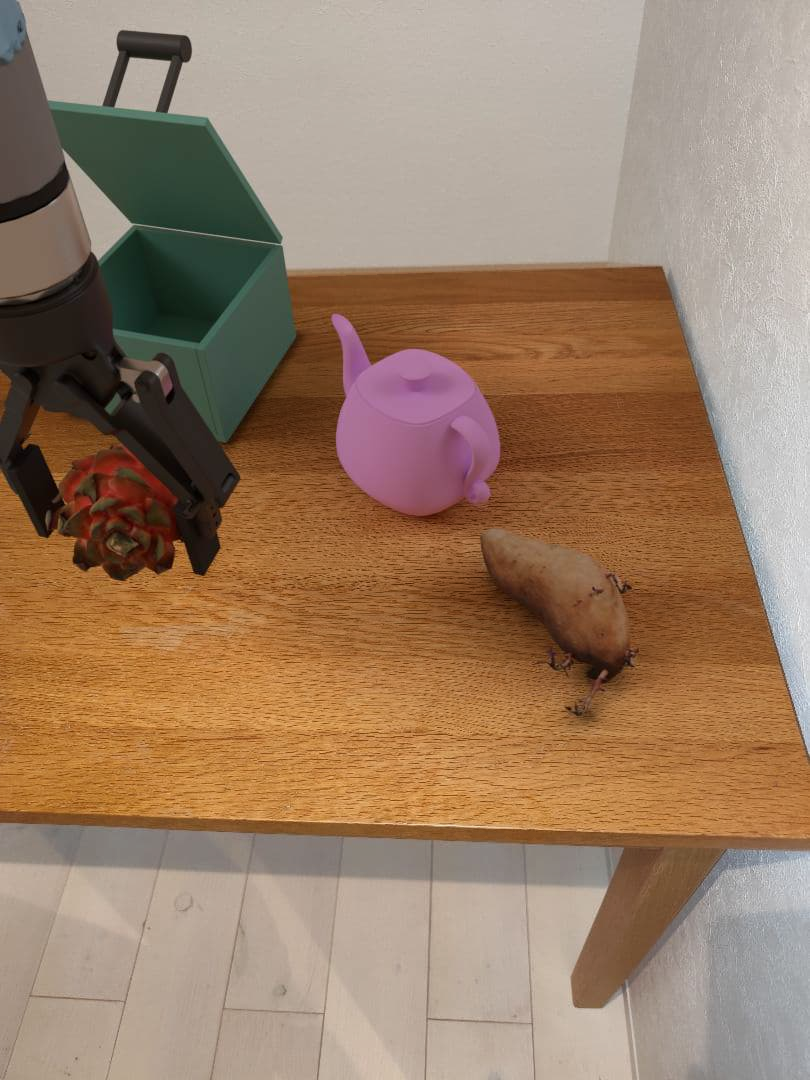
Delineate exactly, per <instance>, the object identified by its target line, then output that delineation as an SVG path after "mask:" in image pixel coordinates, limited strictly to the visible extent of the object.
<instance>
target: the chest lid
mask: <svg viewBox="0 0 810 1080" xmlns="http://www.w3.org/2000/svg"><path fill="white" fill-rule="evenodd" d="M192 45H193V44H192V42H191V39H190V37H189V36H188V35H186V34H185V35H184V34H175V33H163V32H152V31H151V32H150V31H140V30H139V31H138V30H128V29H127V30H126V29H121V30H119V31H118V32H117V35H116V48H117V51H118V55H117V58H116V61H115V64H114V67H113V70H112V74H111V77H110V80H109V83H108V86H107V90H106V92H105V96H104V99H103V102H102V105H94V104H88V103H87V104H85V103H75V102H68V101H67V102H66V101H59V100H48V99H47V100H48V103H49V107H50V110H51V113H52V117H53V120H54V123H55V127H56V130H57V133H58V137H59V140H60V143H61V147H62V150H63V152H65V153H66V154H67V155H68V156H69V158H71V160H72V161H73V162H74V163H75V164H76V166H78V167H79V169H81V171H82V172H83V173H84V174H85V175H86V176H87V177H88V178H89V179H90V180H91V181H92V182H93V184H95V186H96V187H97V188H98V189H99V190H100V191H101V192H102V193H103V194H104V196H105V197H106V198H107V199H108V200H109V201H110V202H111V203H112V204H113V205H114V206H115V207H116V208H117V209H118V211H119V212H120V214H122V215H123V216H124V217H125V218H126V219H127V220H128V221H129V222H130V224H132V225H140V226H148V227H155V228H162V229H169V230H177V231H184V232H191V233H198V234H205V235H212V236H219V237H227V238H234V239H241V240H248V241H255V242H262V243H269V244H275V245H281V244H282V243H283V238H284V236H283V235H282V233H281V232H280V231H279V229H278V227H277V225H276V224H275V223H274V221H273V219H272V218H271V216H270V215H269V213H268V211H267V209H266V208H265V207H264V205H263V203H262V202H261V200H260V199H259V197H258V195H257V193H256V192H255V190H254V189H253V188H252V186H251V184H250V182H249V181H248V179H247V177H246V176H245V174H244V173H243V172H242V170H241V168H240V167H239V165H238V164H237V162H236V160H235V159H234V157H233V156H232V154H231V153H230V151H229V149H228V148H227V146H226V145H225V143H224V141H223V140H222V138H221V136H220V135H219V134H218V132H217V130H216V128H215V127H214V125H213V124H212V122H211V121H210V119H209V117H206V116H198V115H188V114H180V113H169V110H170V107H171V103H172V100H173V96H174V94H175V90H176V86H177V83H178V80H179V77H180V73H181V70H182V68H183V64H184V63H186V64H187V63H189V62H190V61H191V59H192V56H193V46H192ZM130 59H142V60H154V61H163V62H170V63H169V66H168V69H167V72H166V76H165V79H164V82H163V86H162V89H161V93H160V95H159V98H158V101H157V102H158V103H157V105H156V109H155V111H153V110H151V111H150V110H141V109H132V108H124V107H115V106H116V103H117V100H118V98H119V94H120V91H121V88H122V85H123V82H124V78H125V75H126V73H127V72H126V71H127V69H128V65H129V63H130Z"/></svg>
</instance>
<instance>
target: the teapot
mask: <svg viewBox="0 0 810 1080" xmlns="http://www.w3.org/2000/svg"><path fill="white" fill-rule="evenodd" d="M331 322H332V325H333V327H334V329H335V330H336V333H337V335H338V337H339V340H340V343H341V349H342V386H343V390H344V395H345V399H344V401H343V404H342V406H341V408H340V412H339V415H338V420H337V425H336V431H335V432H336V433H335V446H336V454H337V457H338V460H339V462H340V464H341V466H342V468H343V470H344V471H345V473H346V474H347V476H348V478H350V479H351V481H352V482H353V483H354V484H355V485H356V486H357V487H358V488H359V489H360V490H362V491H363V492H364V493H365V494H366V495H368V496H369V497H371V498H372V499H373V500H375V501H377V502H378V503H381V504H382V505H383V506H385V507H387V508H390V509H391V510H394V511H396V512H398V513H401V514H405V515H409V516H414V517H415V516H416V517H424V516H430V515H435V514H438V513H441V512H442V511H444V510H447V509H449V508H450V507H453V506H455V505H457V503H459V502H461V501H463V500H464V499H466V501H468V502H469V503H471V504H473V505H482V504H485V503H486V502H488V500H489V498H490V497H491V489H490V487H489V486H488V484H487V483H486V481H487V480H489V478H490V477H491V476H492V475H493V474H494V472H495V470H496V468H497V467H498V465H499V463H500V459H501V441H500V434H499V430H498V426H497V422H496V420H495V416H494V413H493V412H492V410H491V407H490V406H489V404H488V402H487V400H486V398H485V397H484V395H483V393H482V391H481V390H480V388H479V386H478V385H477V383H476V382H475V381H474V379H473V378H472V377H471V376H470V375H469V373H467V371H466V370H464V369H463V368H462V367H461V366H460V365H458V364H457V363H455V362H453V361H452V360H450V359H448V358H446V357H444V356H442V355H439V354H437V353H435V352H432V351H429V350H426V349H419V348H408V349H403V350H400V351H398V352H395V353H393V354H390V355H388V356H387V357H384V358H383V359H381V360H379V361H377V362H375V363H374V364H371V362H370V359H369V357H368V355H367V353H366V350H365V348H364V346H363V343H362V341H361V339H360V337H359V335H358V333H357V331H356V329H355V327H354V326H353V325H352V324H353V323H351V322H350V321H349V320H348V319H347V318H346V317H345V316H343V315H341V314H339V313H333V314H332V315H331Z"/></svg>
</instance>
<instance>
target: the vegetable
mask: <svg viewBox="0 0 810 1080" xmlns="http://www.w3.org/2000/svg"><path fill="white" fill-rule="evenodd" d="M479 538H480V548H481V553H482V558H483V561H484V565H485V567H486V570H487V573H488V574H489V578H491V581H492V582H493V584H494V585H495V586H496V587H497V588H498V589H499V590H501V591H502V592H503V593H504V594H505V595H506V596H508V597H509V598H511V599H512V600H513V601H515V602H516V603H517V604H520V605H521V606H523V607H524V608H526V609H527V610H529V611H530V612H531V613H532V614H533V615H535V616H536V617H537V618H538V619H539V620H540V622H541V623H542V624H543V626H544V627H545V629H546V631H547V632H548V634H549V635H550V637H551V638H552V640H553V642H554V643H555V644H556V646H558V647H559V649H560V650H561V651H562V652H563V653H565V655H559V654H557V651H553V649H554V648H553V644H551V645H550V649H549V648H547V647H545V651H546V654H548V657H549V658H550V662H548V661H544V660H542V661H538V662H535V663H532V664H531V666H536V665H540V664H544V663H545V664H547V665H548V666H549V667H550V668H551V669H552V670H553V671H557V672H558V671H559V672H560V671H562V670H563V671H564V672H565V676H566V677H567V678H568V679H570V675H569V674H568V672H569V671H570V670H571V669H572V666H573V665H575V662H574V661H576V662H578V663H581V664H585V665H590V666H593V667H592V668H590V669H589V670H588V671H587V672H586V677H587V678H588V681H589V682H590V683H593V686H592V688H591V690H590V692H589V694H588V696H586V698H585V699H584V700H583V699H578V700H577V701H578V703H583V705H582V706H581V708H580V710H579V707H578V703H577V702H575V703H574V710H573V707H571V706H564V708H565V709H566V710H567V711H569V712H570V713H572V714H573V715H575V716H576V717H581V716H582V715H583V714H584V713H585V712H586V711H587V710H588V709H589V707H590V705H591V703H592V701H593V699H594V697H595V696H596V693H597V691H601V692H603V693H605V692H606V690H605V689H603V688H602V687H601V684H603V685H604V684H606V683H608V682H610V681H611V680H612V679H614V678H615V677H617V676H618V675H619V674H620V673H621V672H622V670H623V669H624V668H628V667H630V668H635V667H636V665H634V658H635V657H636V655H637V654H639V653H640V646H638V647H637V648H635V649H634V648H632V647H631V627H630V626H631V624H630V619H629V615H628V611H627V609H626V606H625V603H624V601H623V597H622V595H624V594H627V593H632V592H634V590H633V588H632V586H631V585H630V584H628V583H627V582H628V581H629V580H628V579H627V580H625V581H624V584H623V585H622V581H621V579H620V577H619V576H618V574H617V573H615V572H614V571H613V570H612V571H607V570H606V569H605V568H604V567H603V566H602V565H601V564H600V563H599V562H598V561H597V560H595V559H593V558H592V557H591V556H589V555H588V554H586V553H584V552H582V551H579V550H576V549H574V548H571V547H566V546H561V545H559V544H555V543H551V542H549V541H545V540H540V539H537V538H531V537H527V536H524V535H521V534H517V533H514V532H512V531H509V530H507V529H504V528H499V527H497V528H495V527H494V528H488V529H486V530H483V531H482V532H481V533H480V536H479ZM556 657H557V658H561V659H563V658H565V659H564V660H563V661H562V662H557V661H555V660H556ZM567 668H568V671H567Z"/></svg>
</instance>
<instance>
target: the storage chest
mask: <svg viewBox="0 0 810 1080" xmlns="http://www.w3.org/2000/svg"><path fill="white" fill-rule="evenodd" d="M283 246H284V245H281V244H275V243H268V242H261V241H254V240H247V239H240V238H233V237H225V236H218V235H211V234H204V233H197V232H190V231H182V230H175V229H168V228H161V227H154V226H147V225H140V224H132V226H131V227H130V228H129V229H128V230H127V231H126V232H125V233H124V234H122V236H121V237H120V238H119V239H118V240H117V241H116V242H115V243H114V244H113V245H112V246H111V247H110V248H109V249H108V250H107V251H105V252H104V254H103V255H102V256H101V257H100V258H99V259H97V260H98V263H99V266H100V270H101V273H102V276H103V279H104V282H105V285H106V289H107V292H108V295H109V298H110V301H111V304H112V309H113V336H114V339H115V340H116V342H117V344H118V345H119V346H120V348H121V349H122V350H123V351H124V353H125V354H126V355H127V357H128V358H131V359H137V360H143V361H151V360H152V359H153V357H154V356H155V355H156V354H157V353H165V354H167V355H169V356H170V357H171V358H172V359H173V361H174V363H175V367H176V370H177V373H178V377H179V380H180V384H181V387H182V388H183V390H184V391H185V393H186V394H187V396H188V397H189V399H190V400H191V402H192V403H193V405H194V406H195V408H196V409H197V411H198V412H199V414H200V415H201V417H202V418H203V420H204V422H205V423H206V425H207V426H208V428H209V429H210V431H211V432H212V434H213V435H214V437H215V438H216V440H217V441H218V443H223V444H227V443H228V442H229V440H230V439H231V438H232V436H233V434H234V433H235V431H236V429H237V428H238V426H239V425H240V424H241V422H242V420H243V419H244V417H245V416H246V415H247V413H248V411H249V410H250V408H251V407H252V405H253V404H254V402H255V400H256V399H257V398H258V397H259V395H260V393H261V392H262V390H263V389H264V387H265V386H266V384H267V382H268V381H269V379H270V378H271V376H272V375H273V373H274V372H275V370H276V369H277V367H278V365H279V364H280V363H281V361H282V359H283V358H284V356H285V355H286V353H287V351H288V350H289V349H290V348H291V346H292V345H293V343H294V341H295V340H296V338H297V332H296V327H295V320H294V312H293V307H292V306H293V305H292V299H291V293H290V285H289V279H288V273H287V267H286V259H285V254H284V247H283ZM120 400H121V398H120V396H119V394H118V393H116V394H115V396H114V398H113V400H112V401H111V402H110V403H109V405H108V406H107V407H106V408H105V410H106V411H107V412H108V413H109V414H111V412H112V411H113V410H114V409H115V407H116V406H117V405H118V404H119V402H120Z"/></svg>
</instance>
